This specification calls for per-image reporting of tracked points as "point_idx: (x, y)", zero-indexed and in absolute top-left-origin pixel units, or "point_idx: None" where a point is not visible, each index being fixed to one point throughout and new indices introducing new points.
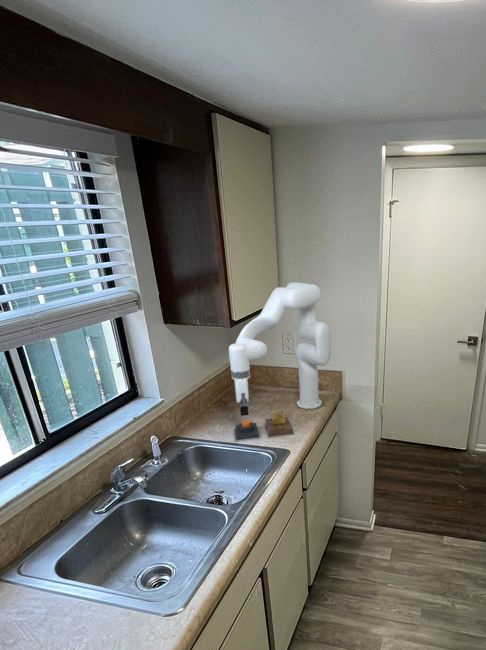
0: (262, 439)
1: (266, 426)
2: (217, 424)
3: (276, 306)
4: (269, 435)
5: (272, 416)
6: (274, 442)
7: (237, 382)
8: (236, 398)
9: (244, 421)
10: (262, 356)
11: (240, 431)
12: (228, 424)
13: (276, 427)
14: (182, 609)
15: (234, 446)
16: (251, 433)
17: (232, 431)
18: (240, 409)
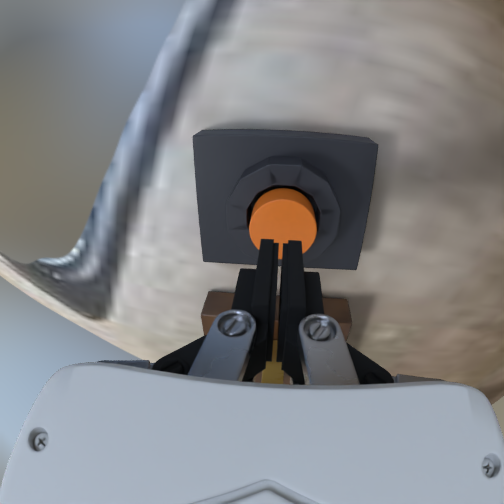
0: (192, 259)
1: (326, 299)
2: (472, 58)
3: None
4: (207, 296)
5: (262, 380)
6: (156, 296)
7: None
8: (76, 428)
9: (302, 224)
10: None
11: (253, 165)
12: (454, 114)
13: None
14: None
15: (137, 116)
16: (204, 228)
17: (351, 113)
18: (254, 282)
